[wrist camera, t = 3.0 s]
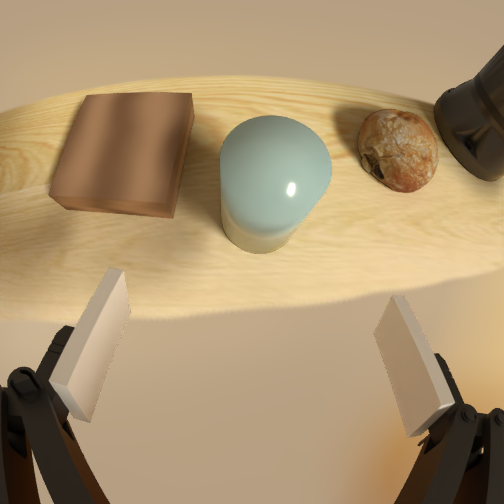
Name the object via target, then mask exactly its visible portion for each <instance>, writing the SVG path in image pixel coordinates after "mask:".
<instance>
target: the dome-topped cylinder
mask: <svg viewBox="0 0 504 504" xmlns="http://www.w3.org/2000/svg"><path fill="white" fill-rule="evenodd" d="M331 175H332V164H331V159H330V155H329V152H328V150H327V148H326V146H325V144H324V143H323V141H322V140H321V139H320V138H319V136H318V135H317V134H316V133H315V132H313V131H312V130H311V129H310V128H308V127H307V126H305V125H304V124H302V123H300V122H298V121H296V120H293V119H290V118H287V117H282V116H260V117H255V118H252V119H249V120H247V121H245V122H243V123H241V124H240V125H238V126H237V127H235V128H234V129H233V130H232V131H231V132H230V133H229V135H228V136H227V137H226V139H225V141H224V143H223V145H222V148H221V152H220V187H221V215H222V225H223V228H224V231H225V233H226V235H227V237H228V238H229V239H230V241H231V242H232V243H233V244H234V245H236V246H237V247H239V248H240V249H242V250H244V251H246V252H250V253H255V254H265V253H270V252H273V251H276V250H278V249H279V248H281V247H282V246H284V245H285V244H286V243H287V242H288V240H289V239H290V238H291V236H292V235H293V234H294V233H295V231H296V230H297V229H298V227H299V226H300V225H301V223H302V222H303V221H304V219H305V218H306V217H307V215H308V214H309V213H310V211H311V210H312V209H313V207H314V206H315V205H316V203H317V202H318V201H319V199H320V198H321V197H322V195H323V194H324V193H325V191H326V189H327V188H328V186H329V183H330V180H331Z"/></svg>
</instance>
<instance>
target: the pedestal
mask: <svg viewBox="0 0 504 504" xmlns="http://www.w3.org/2000/svg"><path fill="white" fill-rule="evenodd" d="M193 120H194V109H193V101H192V93H167V92H143V93H113V94H97V95H87V96H86V98H85V100H84V102H83V104H82V106H81V109H80V111H79V113H78V115H77V118H76V120H75V122H74V125H73V127H72V130H71V132H70V135H69V137H68V140H67V142H66V145H65V147H64V150H63V153H62V156H61V158H60V161H59V164H58V167H57V170H56V173H55V176H54V179H53V183H52V186H51V189H50V192H49V196H50V197H51V198H53V199H54V200H55V201H56V202H58V203H59V204H60V205H61V206H63V207H64V208H65V209H67V210H79V211H92V212H105V213H117V214H129V215H140V216H151V217H162V218H174V212H175V206H176V201H177V195H178V190H179V185H180V180H181V175H182V170H183V165H184V160H185V156H186V151H187V146H188V142H189V138H190V133H191V129H192V125H193Z"/></svg>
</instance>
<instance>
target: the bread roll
mask: <svg viewBox="0 0 504 504" xmlns="http://www.w3.org/2000/svg"><path fill="white" fill-rule="evenodd" d="M358 150H359V153H360V155H361V157H362V161H361V164H362V166H363V167H364V169H365V170H366V171H367V172H368V173H371V174H373V175H374V176H375V177H376V178H377V179H378V180H380V181H381V182H383V183H384V184H386V185H387V186H389V187H390V188H391V189H392V190H394V191H397V192H401V193H410V192H414V191H416V190H418V189H420V188H421V187H423V186H424V185H426V184H427V183H428V182H429V180H430V179H431V178H432V177H433V175H434V173H435V171H436V167H437V164H438V161H439V157H438V149H437V144H436V140H435V137H434V135H433V133H432V131H431V129H430V128H429V126H428V125H427V124H426V123H425V121H424V120H423V119H422V118H420V117H419V116H417V115H415V114H413V113H410V112H403V111H399V110H396V109H383V110H379V111H377V112H374V113H373V114H371V115H369V116H368V117H367V118H366V119H365V120H364V122H363V124H362V126H361V129H360V133H359V140H358Z"/></svg>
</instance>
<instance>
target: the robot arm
mask: <svg viewBox="0 0 504 504" xmlns="http://www.w3.org/2000/svg"><path fill="white" fill-rule="evenodd" d="M434 114H435V120H436V123H437V126H438V129H439V131H440V133H441V135H442V137H443V139H444V141H445V143H446V144H447V146H448V147H449V149H450V150H451V152H452V153H453V154H454V156H455V157H456V158H457V159H458V161H459V162H460V163H461V164H462V165H463V166H464V167H465V168H466V169H467V170H468V171H470V172H471V173H472V174H474V175H475V176H477V177H478V178H480V179H482V180H485V181H495V180H497V179H499V178H500V177H502V176H504V45H503V46H502V47H501V49H500V50H499V51H498V52H497V53H496V54H495V55H494V56H493V58H492V59H491V60H490V61H489V62H488V63H487V64H486V65H485V66H484V67H483V68H482V69H481V71H480V72H479V73H478V74H477V75H476V76H475V77H474V78H473V79H471V80H469V81H467V82H464V83H462V84H460V85H459V86H457V87H456V88H451V89H449V90H447V91H445V92H444V93H443V94H442V95H441V97H440V98H439V99H438V100H437V101H436V103H435V107H434ZM130 313H131V311H130V305H129V300H128V294H127V288H126V281H125V275H124V270H121V269H113V268H109V270H108V271H107V273H106V274H105V276H104V278H103V279H102V281H101V283H100V284H99V286H98V288H97V289H96V291H95V293H94V295H93V296H92V298H91V300H90V301H89V303H88V305H87V307H86V309H85V310H84V312H83V314H82V316H81V318H80V319H79V321H78V323H77V325H76V327H70V326H66V325H65V326H64V327H63V328H62V329H61V330H59V331H58V332H57V333H56V335H55V337H54V339H53V340H52V344H51V345H50V346H49V348H48V351H47V352H46V354H45V356H44V357H43V359H42V361H41V363H40V365H39V367H38V369H37V371H36V373H35V372H34V371H33V370H32V369H31V368H28V367H19V368H17V369H15V370H14V371H13V372H12V373H11V374H10V375H9V378H8V380H7V386H8V387H6V388H5V387H1V385H0V504H41V503H40V499H39V494H38V489H37V484H36V478H35V473H34V465H33V458H32V451H33V454H34V457H35V460H36V462H37V465H38V467H39V470H40V473H41V475H42V478H43V480H44V482H45V485H46V487H47V489H48V491H49V494H50V496H51V498H52V500H53V502H54V504H110V503H109V501H108V499H107V498H106V496H105V495H104V493H103V491H102V489H101V487H100V486H99V484H98V482H97V480H96V478H95V476H94V475H93V473H92V471H91V469H90V467H89V465H88V463H87V462H86V459H85V457H84V455H83V453H82V451H81V449H80V447H79V445H78V442H77V440H76V438H75V436H74V433H73V431H72V429H71V426H70V424H69V422H68V420H67V416H68V413H69V412H70V413H71V415H72V416H73V418H76V419H79V420H82V421H86V422H89V423H90V422H91V418H92V415H93V412H94V409H95V406H96V403H97V400H98V397H99V394H100V392H101V389H102V386H103V383H104V380H105V377H106V374H107V372H108V369H109V366H110V364H111V361H112V358H113V356H114V353H115V351H116V348H117V345H118V343H119V340H120V338H121V335H122V333H123V330H124V328H125V325H126V323H127V321H128V318H129V316H130ZM374 336H375V339H376V342H377V344H378V347H379V350H380V353H381V356H382V358H383V361H384V364H385V367H386V370H387V373H388V376H389V379H390V382H391V385H392V388H393V391H394V394H395V398H396V401H397V404H398V407H399V411H400V414H401V417H402V420H403V424H404V427H405V431H406V435H407V437H413V436H418V435H421V434H422V433H424V432H425V431H426V430H427V429H428V430H429V433H430V434H429V435H428V436H426V437H425V438H424V439H423V440H422V441H420V442H419V444H418V446H420V445H421V444H423V443H424V444H423V446H422V449H421V451H420V454H419V455H418V458H417V460H416V462H415V464H414V466H413V468H412V470H411V472H410V475H409V477H408V479H407V480H406V483H405V484H404V487H403V488H402V490H401V492H400V494H399V496H398V497H397V499H396V501H395V503H394V504H504V411H503V410H502V409H500V408H495V409H493V410H492V411H491V412H490V413H489V414H483V413H477V411H476V410H475V408H474V407H472V406H471V405H468V404H465V403H464V402H463V399H462V397H461V395H460V392H459V390H458V388H457V385H456V383H455V381H454V379H453V378H452V374H451V372H450V371H449V368H448V366H447V364H446V362H445V360H444V359H443V358H442V357H441V356H440V354H439V353H436V354H434V353H433V351H432V349H431V347H430V345H429V343H428V341H427V339H426V337H425V335H424V333H423V331H422V329H421V327H420V325H419V323H418V321H417V319H416V317H415V315H414V313H413V311H412V309H411V308H410V306H409V304H408V302H407V300H406V298H405V297H404V296H397V295H392V297H391V299H390V301H389V303H388V305H387V307H386V309H385V311H384V313H383V315H382V317H381V319H380V321H379V323H378V325H377V327H376V329H375V331H374ZM483 447H484V451H483V453H482V452H481V450H482V448H483ZM31 449H32V450H31Z"/></svg>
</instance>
